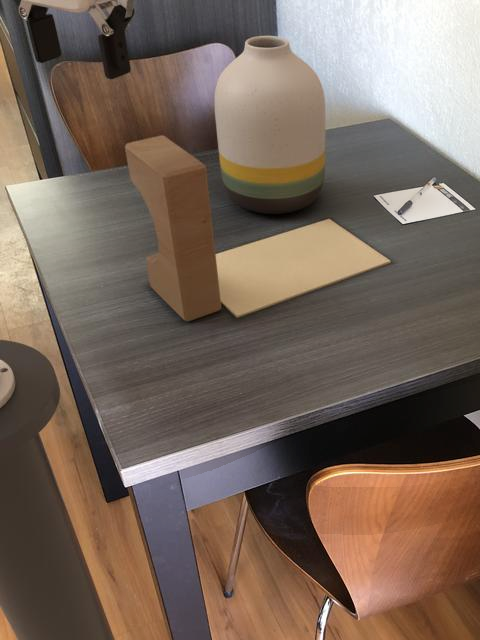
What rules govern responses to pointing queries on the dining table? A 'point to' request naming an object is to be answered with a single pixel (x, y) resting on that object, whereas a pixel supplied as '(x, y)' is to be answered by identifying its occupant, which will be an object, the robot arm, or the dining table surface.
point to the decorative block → (177, 225)
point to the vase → (270, 128)
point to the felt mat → (291, 266)
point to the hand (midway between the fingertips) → (83, 67)
